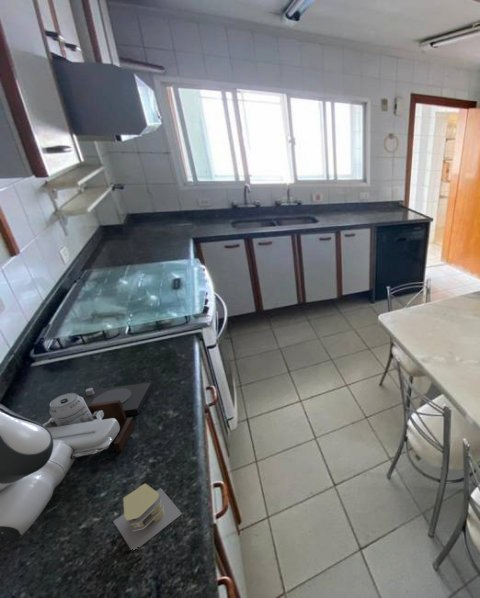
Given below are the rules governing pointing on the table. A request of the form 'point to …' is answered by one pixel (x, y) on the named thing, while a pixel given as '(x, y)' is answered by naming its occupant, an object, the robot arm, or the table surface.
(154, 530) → the stacked layers on plate
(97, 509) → the table surface
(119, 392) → the stove
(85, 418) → the energy drink can
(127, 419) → the brown wooden stand
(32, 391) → the table surface
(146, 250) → the table surface
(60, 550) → the table surface
